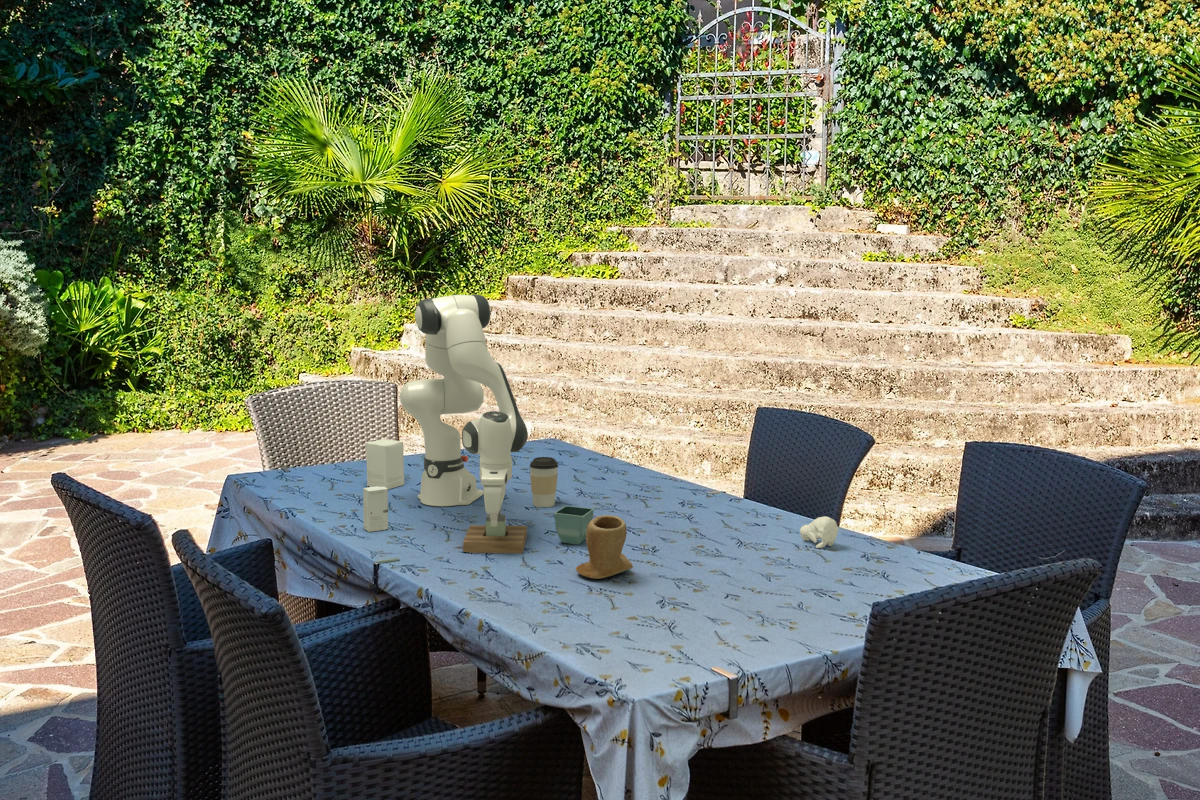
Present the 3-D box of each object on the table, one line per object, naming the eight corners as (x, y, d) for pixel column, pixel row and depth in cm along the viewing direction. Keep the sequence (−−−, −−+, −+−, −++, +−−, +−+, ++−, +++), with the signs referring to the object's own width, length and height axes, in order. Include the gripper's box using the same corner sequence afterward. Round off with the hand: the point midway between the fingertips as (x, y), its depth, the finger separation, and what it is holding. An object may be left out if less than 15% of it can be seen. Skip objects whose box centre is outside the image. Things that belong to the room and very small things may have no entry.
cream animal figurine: (823, 520, 296) (793, 514, 306) (824, 551, 296) (793, 544, 306) (840, 516, 299) (809, 511, 309) (841, 547, 300) (810, 540, 310)
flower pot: (594, 539, 306) (594, 508, 304) (583, 548, 297) (583, 516, 296) (564, 535, 309) (564, 505, 307) (553, 544, 300) (553, 512, 299)
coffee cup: (524, 506, 339) (524, 459, 337) (536, 499, 347) (537, 453, 345) (550, 509, 336) (551, 462, 333) (562, 502, 344) (563, 456, 342)
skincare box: (368, 532, 309) (367, 491, 307) (363, 528, 313) (362, 487, 311) (389, 529, 313) (388, 488, 311) (383, 525, 316) (382, 485, 314)
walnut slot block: (470, 535, 308) (470, 525, 307) (526, 536, 308) (526, 525, 307) (463, 552, 292) (463, 541, 291) (522, 553, 292) (522, 542, 291)
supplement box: (405, 485, 364) (404, 441, 362) (386, 490, 357) (385, 445, 354) (385, 481, 369) (384, 438, 367) (366, 486, 362) (365, 442, 359)
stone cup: (601, 586, 266) (601, 527, 264) (569, 574, 275) (569, 517, 273) (645, 573, 277) (646, 516, 274) (613, 562, 285) (614, 507, 283)
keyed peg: (487, 542, 302) (487, 514, 300) (505, 542, 302) (505, 514, 300) (486, 546, 298) (485, 517, 297) (504, 546, 298) (504, 517, 297)
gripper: (488, 462, 307) (488, 510, 309) (480, 480, 287) (480, 531, 289) (510, 463, 307) (510, 510, 309) (504, 481, 287) (504, 531, 289)
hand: (495, 520), depth 299 cm, fingers open, 8 cm apart
